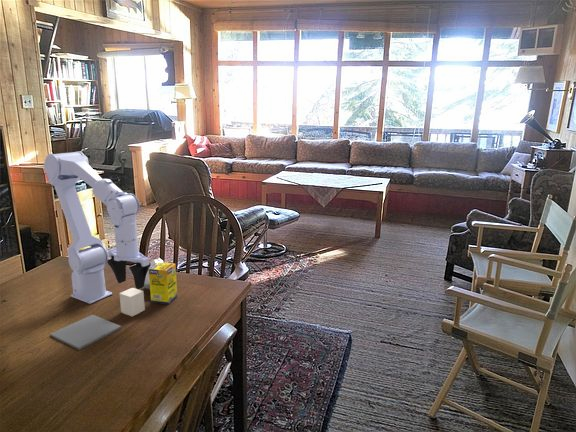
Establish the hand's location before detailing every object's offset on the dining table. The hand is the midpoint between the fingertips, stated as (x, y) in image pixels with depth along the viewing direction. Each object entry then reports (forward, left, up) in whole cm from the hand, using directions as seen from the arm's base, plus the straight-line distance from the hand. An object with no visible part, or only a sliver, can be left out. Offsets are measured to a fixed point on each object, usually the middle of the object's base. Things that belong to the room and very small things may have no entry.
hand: (130, 284), depth 118 cm
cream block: (0, 0, -8) cm, 8 cm away
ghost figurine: (-6, +14, -8) cm, 17 cm away
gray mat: (-1, -14, -8) cm, 16 cm away
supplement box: (+2, +10, -8) cm, 13 cm away
